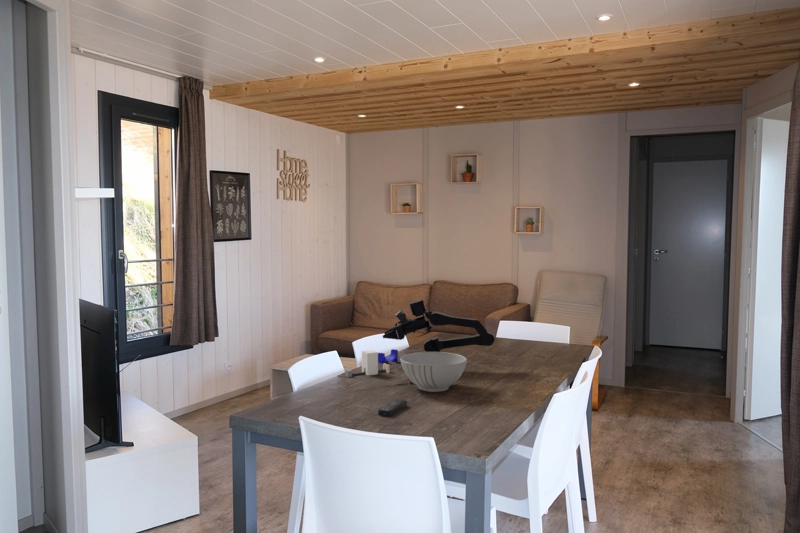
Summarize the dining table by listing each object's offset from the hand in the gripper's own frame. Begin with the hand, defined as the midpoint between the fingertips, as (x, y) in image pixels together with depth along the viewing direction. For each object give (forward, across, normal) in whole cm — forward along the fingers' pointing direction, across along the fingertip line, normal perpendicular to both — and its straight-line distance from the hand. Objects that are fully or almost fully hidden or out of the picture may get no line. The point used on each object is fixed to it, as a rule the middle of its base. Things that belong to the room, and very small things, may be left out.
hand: (383, 335), depth 279 cm
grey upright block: (+9, +18, +12) cm, 23 cm away
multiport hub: (-4, +67, +18) cm, 69 cm away
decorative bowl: (-17, +34, +22) cm, 44 cm away
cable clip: (+4, -9, +15) cm, 18 cm away
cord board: (+10, +18, +13) cm, 24 cm away
